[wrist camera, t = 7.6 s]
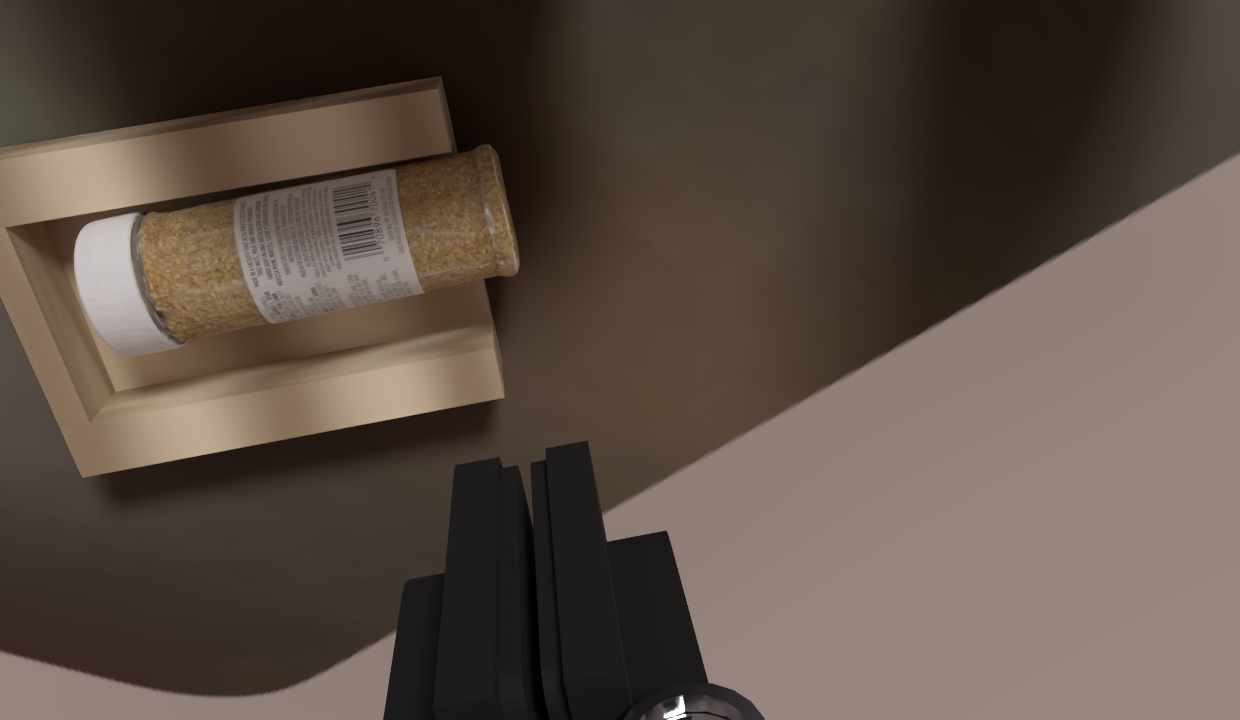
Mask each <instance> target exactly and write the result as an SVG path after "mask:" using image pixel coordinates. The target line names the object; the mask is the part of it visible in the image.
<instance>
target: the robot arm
mask: <svg viewBox="0 0 1240 720" xmlns="http://www.w3.org/2000/svg"><path fill="white" fill-rule="evenodd" d="M531 484H532V504H533V524H534V530H533V526H532V522H531V517H530V513H529V509H528V504H527V500H526V496H525V491H524V487H523V483H522V478H521V474H520V470H519V467H518V466H517V465H516V466H511V467H506V468H503V466H502V463H501V460H500V458H499V457H497V458H492V459H486V460H481V461H475V462H470V463H465V464H459V465H456V466H455V470H454V480H453V491H452V502H451V513H450V524H449V535H448V546H447V557H446V568H445V573H442V574H437V575H431V576H426V577H421V578H416V579H410V580H408V581H407V582H406V583H405V585H404V589H403V593H402V600H401V607H400V613H399V620H398V626H397V633H396V640H395V647H394V653H393V659H392V666H391V672H390V679H389V686H388V692H387V699H386V705H385V712H384V718H383V720H765V719H764V717H763V716H762V715H761V713H760V712H759V711H758V710H757V709H756V707H755V706H754V705H753V703H752V702H751V701H749V700H748V699H746V698H745V697H743V696H742V695H740V694H739V693H737V692H736V691H734V690H731V689H728V688H725V687H721V686H719V685H715V684H712V683H711V684H710V683H708V679H707V675H706V672H705V668H704V664H703V661H702V657H701V653H700V650H699V646H698V642H697V639H696V635H695V631H694V628H693V624H692V620H691V616H690V613H689V609H688V605H687V602H686V598H685V594H684V591H683V587H682V583H681V580H680V576H679V572H678V568H677V565H676V561H675V557H674V554H673V550H672V546H671V543H670V539H669V536H668V533H667V531H662V532H656V533H652V534H646V535H641V536H636V537H630V538H625V539H620V540H614V541H610V542H607V539H606V534H605V529H604V524H603V518H602V513H601V508H600V502H599V497H598V492H597V487H596V481H595V476H594V471H593V465H592V460H591V455H590V450H589V445H588V441H583V442H577V443H572V444H567V445H561V446H556V447H550V448H546V460H543V461H538V462H532V463H531Z"/></svg>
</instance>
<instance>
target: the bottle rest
mask: <svg viewBox="0 0 1240 720" xmlns="http://www.w3.org/2000/svg"><path fill="white" fill-rule="evenodd" d="M455 154H458V152H457V148H456V143H455V138H454V133H453V129H452V124H451V119H450V115H449V110H448V105H447V101H446V96H445V91H444V87H443V82H442V77H441V76H438V77H432V78H426V79H420V80H414V81H408V82H401V83H395V84H389V85H383V86H377V87H371V88H365V89H359V90H352V91H346V92H340V93H334V94H328V95H322V96H316V97H309V98H303V99H297V100H291V101H285V102H279V103H273V104H266V105H260V106H254V107H248V108H242V109H236V110H230V111H224V112H217V113H211V114H205V115H199V116H193V117H187V118H181V119H174V120H168V121H162V122H156V123H150V124H144V125H138V126H132V127H125V128H119V129H113V130H107V131H101V132H95V133H89V134H82V135H76V136H70V137H64V138H58V139H52V140H46V141H40V142H33V143H27V144H21V145H15V146H9V147H3V148H0V296H1V299H2V301H3V303H4V305H5V307H6V310H7V312H8V314H9V316H10V318H11V321H12V323H13V325H14V327H15V330H16V332H17V334H18V336H19V338H20V341H21V343H22V345H23V347H24V350H25V352H26V354H27V356H28V358H29V361H30V363H31V365H32V367H33V369H34V372H35V374H36V376H37V378H38V381H39V383H40V385H41V387H42V389H43V392H44V394H45V396H46V398H47V400H48V403H49V405H50V407H51V409H52V412H53V414H54V416H55V418H56V420H57V423H58V425H59V427H60V429H61V432H62V434H63V436H64V438H65V440H66V443H67V445H68V447H69V449H70V451H71V454H72V456H73V458H74V460H75V463H76V465H77V467H78V469H79V471H80V474H81V476H82V478H84V477H89V476H94V475H100V474H105V473H110V472H115V471H121V470H126V469H131V468H136V467H142V466H147V465H152V464H158V463H163V462H168V461H173V460H179V459H184V458H189V457H194V456H200V455H205V454H210V453H216V452H221V451H226V450H231V449H237V448H242V447H247V446H252V445H258V444H263V443H268V442H274V441H279V440H284V439H289V438H295V437H300V436H305V435H310V434H316V433H321V432H326V431H332V430H337V429H342V428H347V427H353V426H358V425H363V424H368V423H374V422H379V421H384V420H390V419H395V418H400V417H405V416H411V415H416V414H421V413H426V412H432V411H437V410H442V409H448V408H453V407H458V406H463V405H469V404H474V403H479V402H484V401H490V400H495V399H500V398H505V397H504V382H503V367H502V359H501V354H500V349H499V344H498V340H497V335H496V330H495V326H494V321H493V316H492V312H491V307H490V302H489V298H488V293H487V288H486V284H485V279H479V280H476V281H472V282H467V283H462V284H457V285H452V286H447V287H441V288H437V289H432V290H428V291H426V292H425V293H422V294H417V295H412V296H408V297H403V298H398V299H393V300H388V301H383V302H378V303H373V304H368V305H363V306H358V307H353V308H348V309H343V310H338V311H334V312H329V313H324V314H319V315H314V316H310V317H305V318H300V319H295V320H290V321H286V322H281V323H276V324H272V323H268V324H263V325H258V326H253V327H246V328H243V329H239V330H235V331H229V332H223V333H220V334H216V335H212V336H205V337H201V338H199V339H197V340H196V341H189V342H187V343H186V344H185V345H184V346H182V347H179V348H176V349H170V350H166V351H161V352H156V353H151V354H145V355H139V356H126V355H122V354H120V353H118V352H116V351H114V350H113V349H112V348H111V347H109V346H108V345H107V344H106V343H105V342H104V341H103V340H102V338H101V337H100V336H99V334H98V333H97V332H96V330H95V329H94V327H93V325H92V324H91V322H90V320H89V318H88V316H87V314H86V311H85V309H84V306H83V304H82V301H81V298H80V295H79V291H78V288H77V282H76V277H75V271H74V250H75V244H76V239H77V237H78V235H79V233H80V231H81V230H82V229H83V227H84V226H85V225H87V224H88V223H90V222H93V221H96V220H100V219H105V218H109V217H113V216H118V215H122V214H127V213H132V212H137V211H145V212H148V213H150V212H151V211H157V212H163V213H166V212H169V211H172V210H174V211H175V210H180V209H184V208H187V207H195V206H198V205H200V204H206V203H212V202H216V201H220V200H227V199H232V198H235V197H238V196H245V195H249V194H255V193H258V192H262V191H268V190H273V189H279V188H285V187H290V186H294V185H299V184H302V183H303V182H307V181H311V180H316V179H321V178H326V177H331V176H336V175H341V174H346V173H350V172H356V171H361V170H366V169H372V168H377V167H382V166H388V165H394V166H398V165H403V164H408V163H412V162H420V161H423V160H428V159H432V158H438V157H444V156H449V155H455Z"/></svg>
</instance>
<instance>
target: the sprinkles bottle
mask: <svg viewBox="0 0 1240 720" xmlns="http://www.w3.org/2000/svg"><path fill="white" fill-rule="evenodd" d="M519 267H520V260H519V249H518V243H517V238H516V234H515V229H514V225H513V220H512V216H511V211H510V207H509V204H508V200H507V196H506V191H505V185H504V180H503V175H502V170H501V165H500V160H499V156H498V154H497V152H496V151H495V150H494V149H493V148H492V146H491V145H488V144H484V145H480V146H478V147H476V148H475V149H473V150H471V151H468V152H463V153H459V154H455V155H449V156H444V157H438V158H432V159H428V160H423V161H420V162H412V163H408V164H403V165H398V166H394V165H388V166H382V167H377V168H372V169H366V170H361V171H356V172H350V173H346V174H341V175H336V176H331V177H326V178H321V179H316V180H311V181H307V182H303V183H302V184H299V185H294V186H290V187H285V188H279V189H273V190H268V191H262V192H258V193H255V194H249V195H245V196H238V197H235V198H232V199H227V200H220V201H216V202H212V203H206V204H200V205H198V206H195V207H187V208H184V209H180V210H175V211H174V210H172V211H169V212H166V213H163V212H157V211H151V212H150V213H148V212H145V211H137V212H132V213H127V214H122V215H118V216H113V217H109V218H105V219H100V220H96V221H93V222H90V223H88V224H87V225H85V226H84V227H83V229H82V230H81V231H80V233H79V235H78V237H77V239H76V244H75V250H74V271H75V277H76V282H77V288H78V291H79V295H80V298H81V301H82V304H83V306H84V309H85V311H86V314H87V316H88V318H89V320H90V322H91V324H92V325H93V327H94V329H95V330H96V332H97V333H98V334H99V336H100V337H101V338H102V340H103V341H104V342H105V343H106V344H107V345H108V346H109V347H111V348H112V349H113V350H114V351H116V352H118V353H120V354H122V355H126V356H139V355H145V354H151V353H156V352H161V351H166V350H170V349H176V348H179V347H182V346H184V345H185V344H186V343H187V342H189V341H196V340H197V339H199V338H201V337H205V336H212V335H216V334H220V333H223V332H229V331H235V330H239V329H243V328H246V327H253V326H258V325H263V324H268V323H272V324H276V323H281V322H286V321H290V320H295V319H300V318H305V317H310V316H314V315H319V314H324V313H329V312H334V311H338V310H343V309H348V308H353V307H358V306H363V305H368V304H373V303H378V302H383V301H388V300H393V299H398V298H403V297H408V296H412V295H417V294H422V293H425V292H426V291H428V290H432V289H437V288H441V287H447V286H452V285H457V284H462V283H467V282H472V281H476V280H479V279H484V278H490V277H494V276H506V277H511V276H514V275H516V274H517V273H518V270H519Z"/></svg>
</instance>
